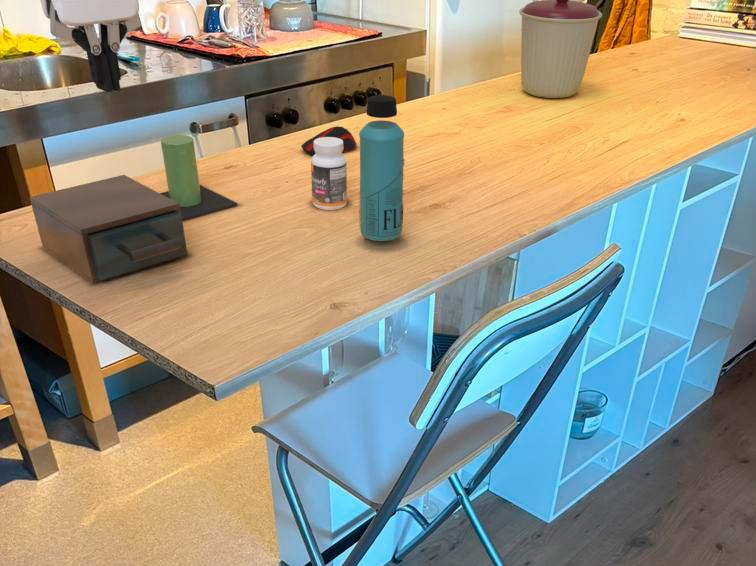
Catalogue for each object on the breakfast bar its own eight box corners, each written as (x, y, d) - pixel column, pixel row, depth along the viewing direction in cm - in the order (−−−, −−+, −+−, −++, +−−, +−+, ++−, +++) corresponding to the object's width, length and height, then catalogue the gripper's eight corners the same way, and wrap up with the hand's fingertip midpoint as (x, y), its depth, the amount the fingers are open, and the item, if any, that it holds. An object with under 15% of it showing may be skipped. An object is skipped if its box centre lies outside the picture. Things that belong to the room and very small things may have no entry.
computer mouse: (297, 152, 154) (296, 130, 151) (341, 141, 159) (340, 119, 157) (318, 160, 150) (317, 138, 148) (362, 149, 156) (362, 126, 153)
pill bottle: (305, 204, 133) (302, 140, 127) (332, 196, 136) (330, 133, 130) (327, 214, 130) (325, 149, 124) (354, 205, 133) (353, 141, 127)
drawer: (204, 264, 113) (199, 223, 109) (116, 292, 106) (107, 249, 102) (136, 224, 123) (129, 185, 120) (52, 247, 116) (42, 206, 113)
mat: (173, 224, 126) (172, 220, 125) (134, 203, 132) (134, 199, 132) (237, 206, 132) (237, 203, 132) (197, 187, 139) (197, 183, 138)
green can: (180, 209, 129) (171, 146, 123) (164, 200, 132) (154, 138, 126) (207, 202, 132) (199, 140, 126) (191, 193, 134) (182, 132, 128)
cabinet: (187, 256, 117) (179, 203, 112) (93, 285, 109) (80, 229, 104) (133, 225, 125) (124, 174, 121) (43, 249, 118) (29, 196, 113)
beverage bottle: (382, 255, 118) (384, 106, 105) (349, 242, 121) (347, 96, 108) (411, 242, 122) (417, 97, 109) (379, 230, 125) (380, 88, 112)
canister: (605, 97, 187) (624, -10, 174) (543, 107, 180) (558, -4, 167) (555, 80, 199) (569, -22, 185) (495, 88, 192) (505, -17, 178)
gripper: (119, -106, 92) (148, 74, 104) (-12, -101, 84) (35, 93, 96) (153, -102, 88) (178, 85, 100) (18, -96, 80) (64, 106, 92)
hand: (108, 88), depth 98 cm, fingers closed
